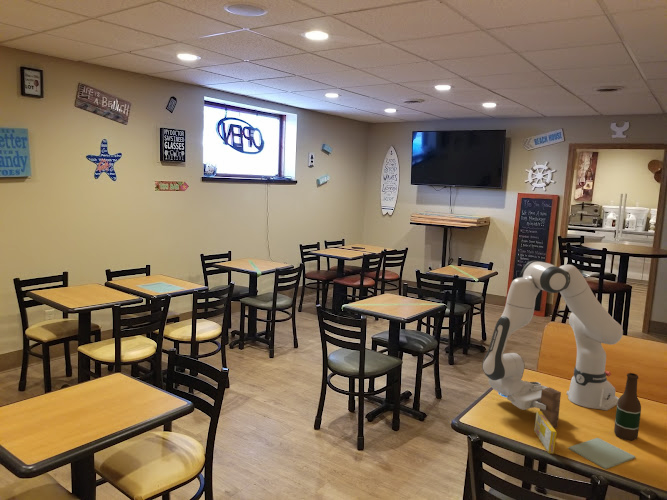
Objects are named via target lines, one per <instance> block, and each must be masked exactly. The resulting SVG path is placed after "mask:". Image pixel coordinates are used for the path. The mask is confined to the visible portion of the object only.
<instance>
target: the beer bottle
mask: <svg viewBox="0 0 667 500" xmlns="http://www.w3.org/2000/svg"><path fill="white" fill-rule="evenodd" d="M626 377H627V378H626V382H625V383H626V384H625V387H624V388H625V389H624V391H623V393H622V394H621V395H620V396H619V397H618V398H619V399H618V402H617V405H616V409H615V410H616V411H615V419H614V429H613V432H614V434H615V436H616V437H617V438H619V439H622V440H623V441H629V442H635V441H636V440H638V437H639V430H640V421H641V414H642V405H641V401H640V399H639V398H638V379H639V375H638V374H637V373H633V372H629V373H627V374H626Z"/></svg>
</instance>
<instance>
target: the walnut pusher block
mask: <svg viewBox="0 0 667 500" xmlns="http://www.w3.org/2000/svg"><path fill="white" fill-rule="evenodd" d="M561 398H562V392H561V391H559V390H557V389H555V388H552V387H548V388H545V389H542V393H541V403H542V404H546V405H548V409H547V410H543V409H540V408H539V411H541V412H542V413H543V414H544V416H545V417H546V418H547V420H548V421H549V422H550V424H551V425H552V427H553V428H554V429H556V428H558V426H559V425H558V423H559V416H560V404H561Z"/></svg>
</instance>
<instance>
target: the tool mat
mask: <svg viewBox="0 0 667 500" xmlns="http://www.w3.org/2000/svg"><path fill="white" fill-rule="evenodd" d="M568 450H569V451H571V452H574V454H577V455H579V456H581V457H583V458H585V459H586V460H588V461H590V462H591V463H594V464H595V465H597V466H599V467H600V468H602V469H605V470H608V469H611V468H613V467H616V466H619V465H621V464H623V463H626V462H629V461H631V460H633V459H636V455H633V454H631V453H630V452H628V451H625V450H623V449H621V448H620V447H617V446H615V445H614V444H611V443H610V442H608V441H605V440H603V439H601V438H599V437H595V438H592V439H590V440H585V441H583V442H580V443H576V444H574V445H571V446H568Z"/></svg>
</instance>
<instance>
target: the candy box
mask: <svg viewBox="0 0 667 500" xmlns="http://www.w3.org/2000/svg"><path fill="white" fill-rule="evenodd" d="M533 430H534V431H533V432H534V433H535V434H536V436H537V438H538V439H539V440H540V442H541V444H542V446H543V447H544V449H545V450H546V452H547V453H548V454H550V455H551V454H552V455H554V453H555V446H556V440H557V431H556V428H553V427H552V425H551V424H550V422H549V421H548V420H547V418H546V417H545V416H544V414H543V413H542V412H541V411H540V410H536V414H535V423H534V429H533Z"/></svg>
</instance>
